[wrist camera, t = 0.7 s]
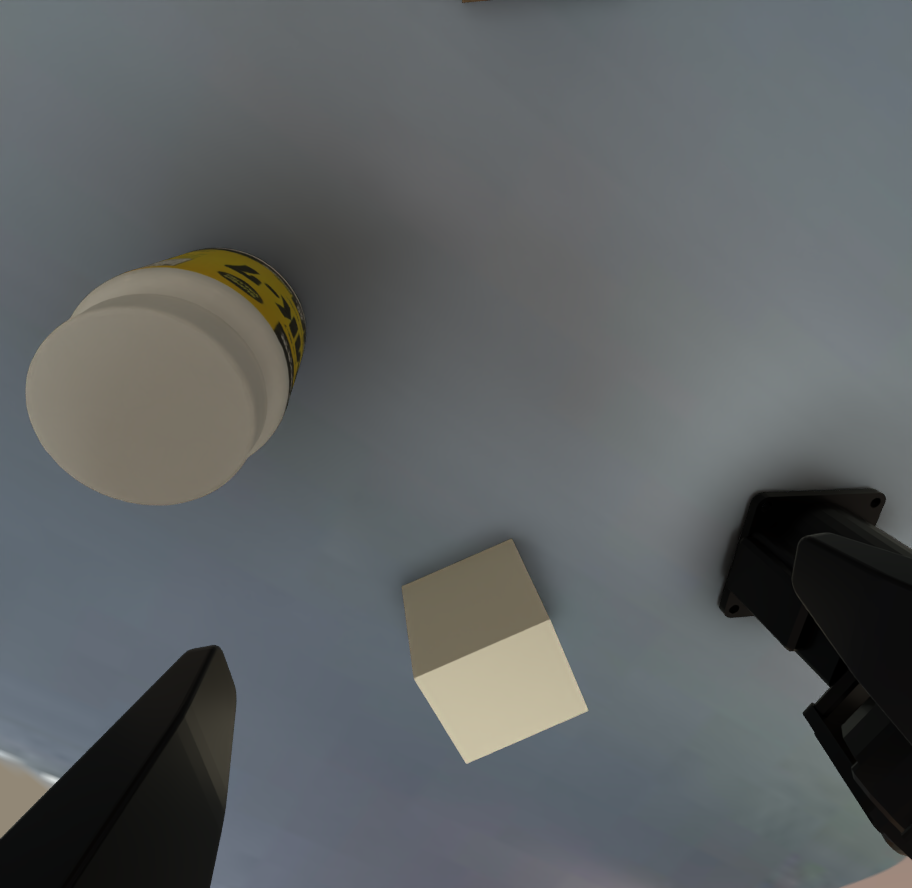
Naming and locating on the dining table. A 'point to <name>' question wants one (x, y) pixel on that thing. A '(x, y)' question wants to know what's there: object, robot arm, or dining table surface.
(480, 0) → the walnut block
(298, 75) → the dining table surface
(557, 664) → the cream block
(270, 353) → the supplement bottle
